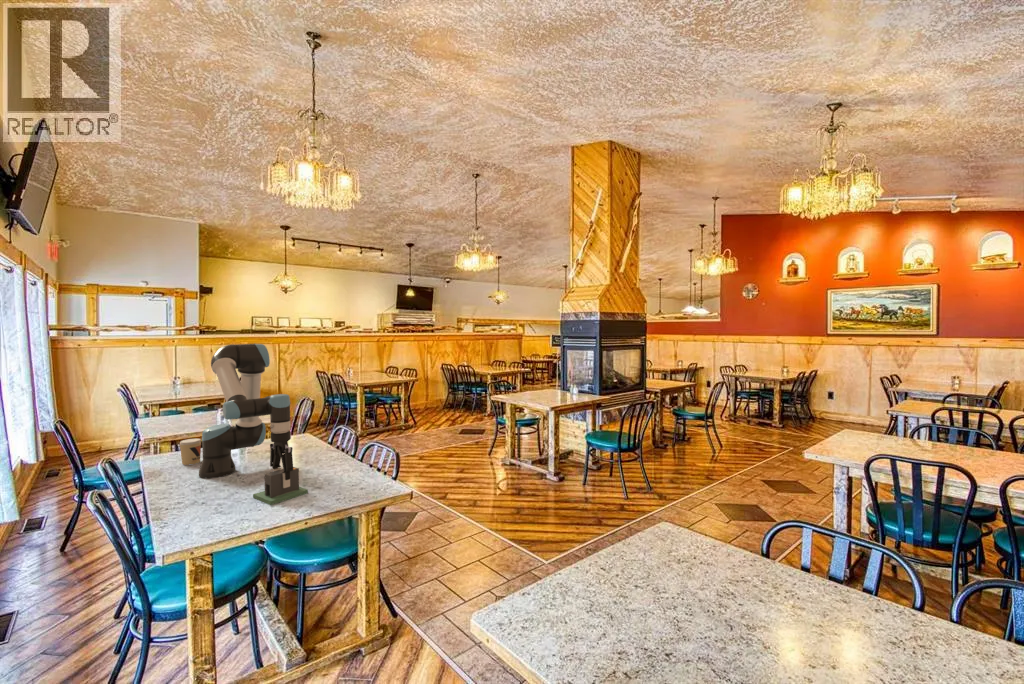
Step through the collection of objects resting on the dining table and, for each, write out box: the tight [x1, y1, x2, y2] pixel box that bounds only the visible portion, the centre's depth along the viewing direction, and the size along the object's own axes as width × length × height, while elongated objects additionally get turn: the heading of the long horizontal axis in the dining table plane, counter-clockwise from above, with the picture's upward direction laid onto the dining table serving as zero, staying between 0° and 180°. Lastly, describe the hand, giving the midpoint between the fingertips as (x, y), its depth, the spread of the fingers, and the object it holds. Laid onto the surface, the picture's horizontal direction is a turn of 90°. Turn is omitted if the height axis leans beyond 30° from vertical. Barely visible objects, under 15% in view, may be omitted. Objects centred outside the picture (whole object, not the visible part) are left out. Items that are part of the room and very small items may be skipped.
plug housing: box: [263, 466, 300, 498], centre depth 192 cm, size 5×12×9 cm, turn 145°
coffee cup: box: [179, 438, 202, 466], centre depth 241 cm, size 9×9×12 cm
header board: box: [252, 486, 309, 506], centre depth 193 cm, size 14×16×6 cm
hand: (281, 485), depth 192 cm, fingers open, 7 cm apart
